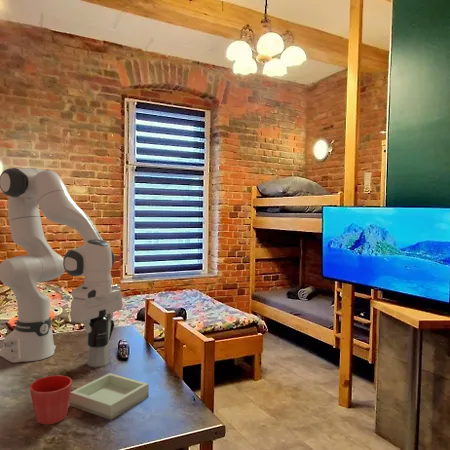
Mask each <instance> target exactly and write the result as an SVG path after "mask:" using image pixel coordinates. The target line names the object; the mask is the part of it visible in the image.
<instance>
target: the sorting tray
mask: <svg viewBox="0 0 450 450" xmlns="http://www.w3.org/2000/svg"><path fill="white" fill-rule="evenodd" d="M149 385H150V384H149V383H147V382H144V381H140V380H136V379H133V378H129V377H126V376H121V375H119V374H115V373H111V372H108V373H107V374H104V375H103V376H101V377H99V378H96V379H95V380H93V381H90V382H89V383H86V384H85V385H82V386H80V387H78V388H76V389H74V390H72V391H71V392H70V399H69V406H70V407H73V408H76V409H79V410H82V411H84V412H87V413H90V414H92V415H95V416H99V417H101V418H104V419H107V420H110V421H112V420H113V419H114V418H116V417H118V416H119V415H121V414H123V413H125V412H126V411H127V410H129V409H131V408H132V407H134V406H136V405H138V404H139V403H141V402H142V401H144V400H146V399H147V398H149V395H150V394H149V388H150V387H149Z"/></svg>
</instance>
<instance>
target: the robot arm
mask: <svg viewBox="0 0 450 450" xmlns="http://www.w3.org/2000/svg"><path fill="white" fill-rule="evenodd" d="M0 190H1V192H2V193H3V194H4V195H5V196H8V200H7V216H8V222H9V228H10V234H11V240H12V241H13V243H14V244H15V245H17V246H20V247H22V248H23V250H25V252H26V253H27V254H26V255H17V256H13V257H10V258H6V259H4V260H2V262H0V282H1V283H2V284H3V285H4V286H6V287H8V288H9V289H10V290H11V291H12V293H13V294H14V296H15V299H16V304H17V319H16V320H14V322H13V324H15V327H14V329H13V330H12V331H10V333H9V334H8V335H6V336H5V337H4V339H3V347H2V348H0V357H1V358H3V359H4V360H7V361H8V362H10V363H12V364H14V363H15V364H16V363H22V362H33V361H40V360H41V361H42V360H45V359H47V358H49V357H51V356H53V355H54V354H55V349H56V347H57V346H56V345H55V344H54V336H53V335H54V334H53V333H54V332H53V330H52V328H51V326H52V318H51V315H50V314H51V313H50V298H49V297H48V295H47V294H45V293H43V291H42V292H41V291H40V290H39V288H38V283H44V282H48V281H52V280H55V279H58V278H59V277H62V276H63V275H64V274H65V272H66V274H68V275H69V276H71V277H84V280H83V282H84V283H82V284H80V285H79V286H78V287H76V288H75V289H73V290H72V291H71V297H72V299H71V303H70V319H71V321H72V322H74V323H76V324H77V323H79V324H81V323H82V325H83V326H84V328H85V333H87V334H88V333H90V332H92V331H93V330H92V329H93V327H90V325H89V323H90V320H91V319H94V318H97V317H99V311H101V310H105V309H106V315H105V316H106V317H108V319H109V326H110V321H111V320H113V316H114V313H115V312H119V311H121V310H122V309H123V304H124V303H123V296H122V295H123V294H122V292H121V291H122V290H121V289H122V288H121V287H120V285H119V284H118V283H115V284H113V278H112V274H111V273H112V272H111V271H112V268H113V267H114V265H115V262H116V261H115V260H116V259H115V254H114V251H113V250H112V248H111V245H110V243H109V242H108V241H107V240H104V239H103V238H102V236H101V234H100V232H99V231H98V229H97V227H96V226H95V224H94V223H93V221H92V219H91V218H90V217H89V215H88V214H87V213H86V211H85V210H83V209H82V208H81V207H79V205H78V204H77V203H76V202H75V201H74V200H73V198H72V196H71V195H70V192H69V190H68V188H67V186H66V184H65V182H64V181H63V179H62V178H61V177H60V175H59V174H58V173H57V172H56V171H54V170H51V169H42V168H36V167H35V168H34V167H30V168H25V167H24V168H17V167H14V168H13V167H12V168H7V169H4V170H3V171H2V172H1V174H0ZM40 211H41V213H42V214H43V216H44V217H45V218H46V219H47V220H48V221H50V222H52V223H55V224H59V225H63V226H66V227H70V228H72V229H73V230H75V231H77V232H78V234H79V235H80V236H81V238H82V240H83V241H84V244H82V245H80V246H78V247H75V248H73V249H69V250H67V252H66V253H65V254H64V257H63V256H62V255H61V254H59V253H57V252H56V251H55V250H54V249H53V248H52V246H51V245H50V244H49V243H48V241H47V239H46V236H45V233H44V228H43V224H42V219H41V213H40Z"/></svg>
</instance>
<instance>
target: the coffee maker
mask: <svg viewBox="0 0 450 450" xmlns="http://www.w3.org/2000/svg"><path fill="white" fill-rule="evenodd" d="M114 328H115V321H114V319H111V321H110V326H109V341H110V340H111V338H112V337H111V336H112V334H113V331H114ZM87 355H88V356H87V362H86V364H87V367H91V368H102V367H107V366H108V365H110V364H111V363H112V362H111V361H112V360H111V355H110V350H109V343H108V344H107V345H106V346H103V347H90V346H89V350H88V353H87Z"/></svg>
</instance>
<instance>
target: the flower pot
mask: <svg viewBox="0 0 450 450" xmlns="http://www.w3.org/2000/svg"><path fill="white" fill-rule="evenodd" d="M72 381H73V380H72V379H71V377H69V376H67V375H56V374H55V375H49V376H44V377H42V378H38V379H36V380H35V381H33V382H32V383H31V384H30V386H29V393H30V396H31V401H32V406H33V407H32V408H33V411H34V415H35V420H36V422H37V423H38V424H42V425H54V424H57V423H59V422H61V421H63V420H64V419H65V418H66V417H67V416H68V415H67V414H68V410H69V406H70V392H72V391H71V390H72V383H73V382H72Z"/></svg>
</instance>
